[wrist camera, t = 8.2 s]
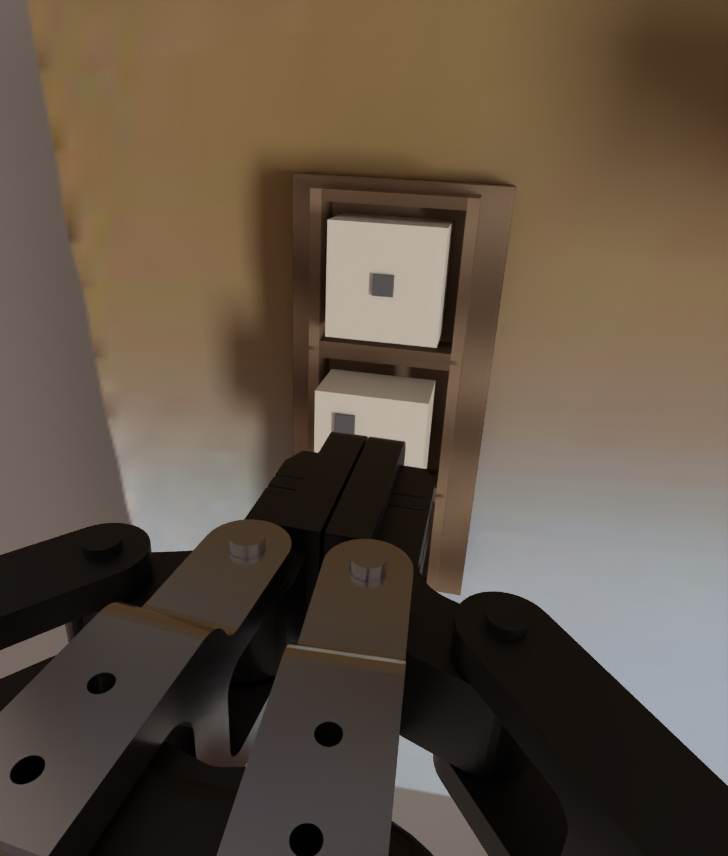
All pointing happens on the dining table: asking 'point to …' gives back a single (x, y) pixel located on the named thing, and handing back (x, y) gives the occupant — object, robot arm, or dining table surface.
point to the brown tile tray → (447, 364)
